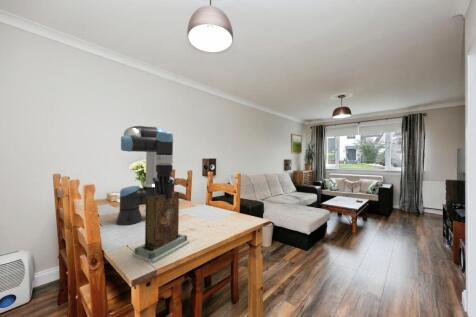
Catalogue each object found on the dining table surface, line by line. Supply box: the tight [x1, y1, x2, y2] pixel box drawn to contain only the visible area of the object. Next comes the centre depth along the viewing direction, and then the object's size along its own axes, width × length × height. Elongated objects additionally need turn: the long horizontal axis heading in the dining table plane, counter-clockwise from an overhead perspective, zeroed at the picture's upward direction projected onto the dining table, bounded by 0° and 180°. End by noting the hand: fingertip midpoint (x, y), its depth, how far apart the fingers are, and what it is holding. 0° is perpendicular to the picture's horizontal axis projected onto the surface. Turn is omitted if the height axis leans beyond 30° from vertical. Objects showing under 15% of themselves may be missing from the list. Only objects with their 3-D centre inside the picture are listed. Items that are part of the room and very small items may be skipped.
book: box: [144, 190, 180, 251], centre depth 95 cm, size 16×6×25 cm, turn 154°
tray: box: [131, 233, 190, 264], centre depth 95 cm, size 14×22×3 cm, turn 153°
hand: (163, 213), depth 95 cm, fingers closed
